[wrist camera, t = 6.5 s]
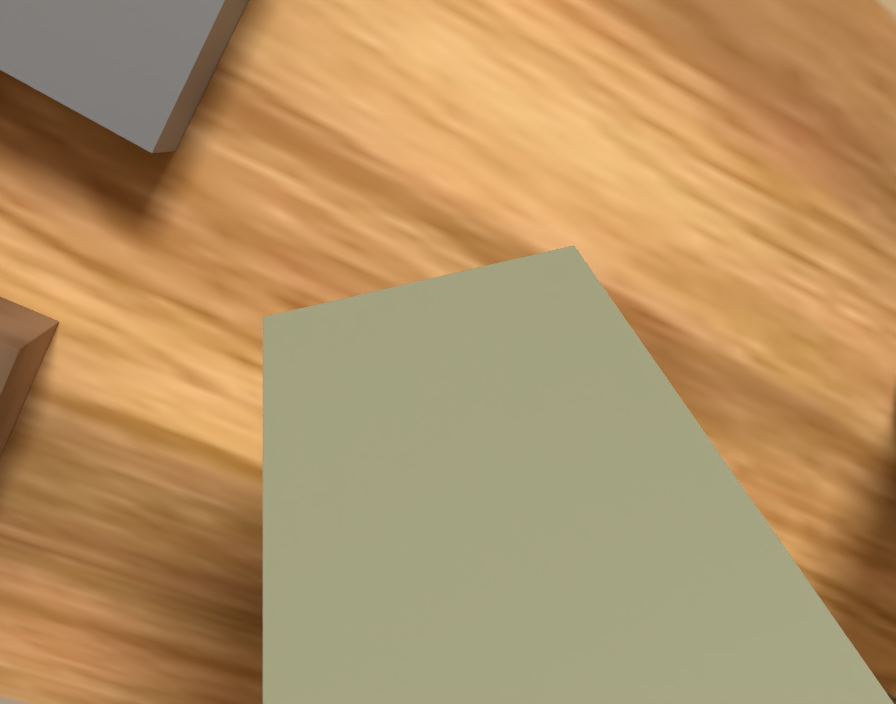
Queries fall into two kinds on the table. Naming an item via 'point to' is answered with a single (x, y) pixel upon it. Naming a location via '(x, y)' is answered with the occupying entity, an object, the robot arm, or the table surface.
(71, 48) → the charcoal block
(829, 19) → the table surface
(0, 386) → the walnut block
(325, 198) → the table surface
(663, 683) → the olive brick
